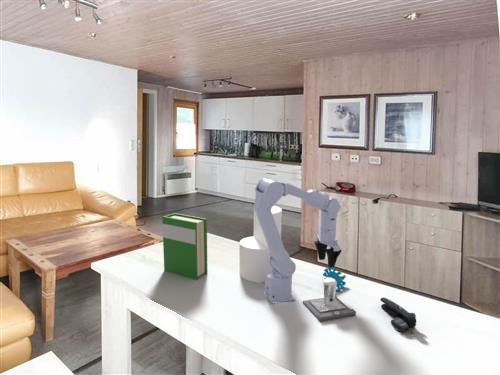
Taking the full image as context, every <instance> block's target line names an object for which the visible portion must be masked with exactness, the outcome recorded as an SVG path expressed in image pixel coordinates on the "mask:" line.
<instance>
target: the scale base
mask: <svg viewBox="0 0 500 375" xmlns="http://www.w3.org/2000/svg"><path fill="white" fill-rule="evenodd" d="M317 299H324V297H321V298H320V297H319V298H313V299H307V300H302V304H303V305H304V306H305V307H306V308H307V309H308V310H309V311H310V313H312V315H314V317H315V318H316V319H317V320H318V321H319V322H320V323H322V322H328V321H334V320H341V319H348V318H352V317H356V316H357V311H356V310H355V309H353V308H350V307H348V306H347V304H345V303H344V302H343V301H342V300H341V299H340V298H338V297H337V296H336V295H335V299H336V300H337V301H339V302H340V303H341V304H342V305H343V306H344V307H345V308H346V309H345V310H339V311H333V312H326V313H319V312H318V311H317V310H316V309H315V308H314V307H313V306H312V305H311V304H310V303H309V301H310V300H317Z"/></svg>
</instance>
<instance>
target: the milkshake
mask: <svg viewBox="0 0 500 375" xmlns="http://www.w3.org/2000/svg"><path fill="white" fill-rule="evenodd" d="M325 278H326V279H324V278H321V280H322V282H323V298H324V304H325V305H327V306H332V305H334V299H335V296H336V291H337V286H336V285H337V281H336V280H335V279H333V278H329V277H325Z"/></svg>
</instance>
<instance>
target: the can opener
mask: <svg viewBox="0 0 500 375" xmlns="http://www.w3.org/2000/svg"><path fill="white" fill-rule="evenodd" d="M379 300H380V302H382V304H381V306H380V307H381V309H382V310H383V311H385V312H386V313H388V314H389V315H390V316H392V317H394V318H392V319H391V320H390V323H391V325H392V327H394V329H396V330H397V331H398V332H400V333H401V332H402V333H403V332H404V333H405V332H410V330H412V329H414V328H416V326H417V315H416V313H415V312H409V311H407V309H405V308H404V307H402V306H401V305H399V304H398V303H396V302H394V301H392V300H391V299H389V298H386V297H381V298H380V299H379Z"/></svg>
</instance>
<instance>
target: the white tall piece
mask: <svg viewBox="0 0 500 375" xmlns="http://www.w3.org/2000/svg"><path fill="white" fill-rule="evenodd" d="M271 212H272V215H273V218H274V221H275V223H276V226H277V229H278V232H279V235H280V237H281V238H282V216H283V215H282V214H283V213H282V212H283V210H282V208H281V207H279V206H277V205H274V206H273V207H272V209H271ZM269 252H270V250H269V247H268V244H267V242H266V239H265V236H264V234H263V231H262V228H261V225H260V223H259V220H258V217H257V215H256V212H255V209H254V208H253V236H248V237H243V238H242V239H241V240H240V241H239V276H240V277H241V278H242V279H243V280H245V281H249V282H252V283H265V277H266V275H269V274H271V273H272V267H271V265H270V262H269V260H270V256H269Z"/></svg>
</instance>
